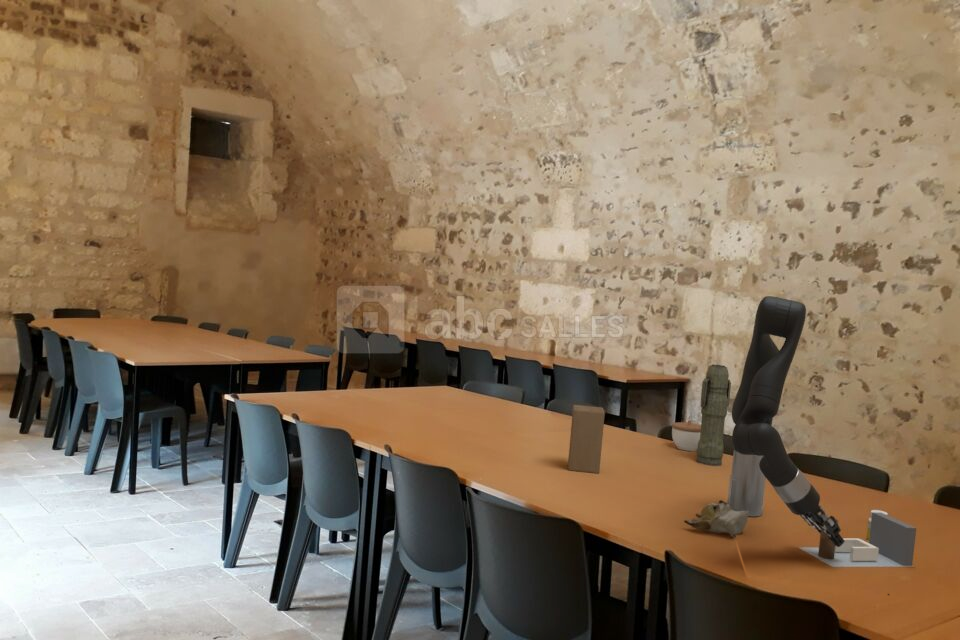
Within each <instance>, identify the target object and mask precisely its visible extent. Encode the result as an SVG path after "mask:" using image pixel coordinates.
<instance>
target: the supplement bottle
mask: <svg viewBox="0 0 960 640" xmlns="http://www.w3.org/2000/svg"><path fill="white" fill-rule="evenodd" d="M872 512H874V513H883V514H885V515H888V516H889V514H888V512H886V511H883V510H881V509H872V510H871V511H870V515H869V516H870V517H869V518H868V521H867V529H866V530H867V531H866V540H867V541H869V538H870V529H871V520H872Z"/></svg>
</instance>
